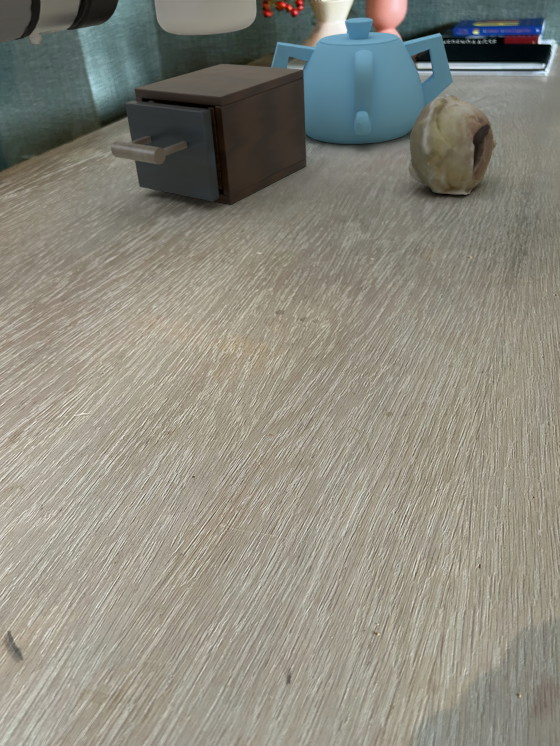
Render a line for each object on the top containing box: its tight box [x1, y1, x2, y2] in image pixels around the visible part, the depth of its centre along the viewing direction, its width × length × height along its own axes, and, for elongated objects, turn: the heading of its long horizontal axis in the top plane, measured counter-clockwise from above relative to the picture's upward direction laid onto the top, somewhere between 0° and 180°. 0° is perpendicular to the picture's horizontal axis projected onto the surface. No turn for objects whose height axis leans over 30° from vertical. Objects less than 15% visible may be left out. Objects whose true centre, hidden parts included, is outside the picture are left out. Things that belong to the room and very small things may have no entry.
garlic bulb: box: [408, 93, 498, 196], centre depth 70 cm, size 9×8×10 cm
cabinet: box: [134, 63, 307, 205], centre depth 76 cm, size 15×12×11 cm
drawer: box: [110, 99, 223, 202], centre depth 72 cm, size 19×11×9 cm, turn 145°
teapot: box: [270, 17, 454, 145], centre depth 90 cm, size 19×19×14 cm
